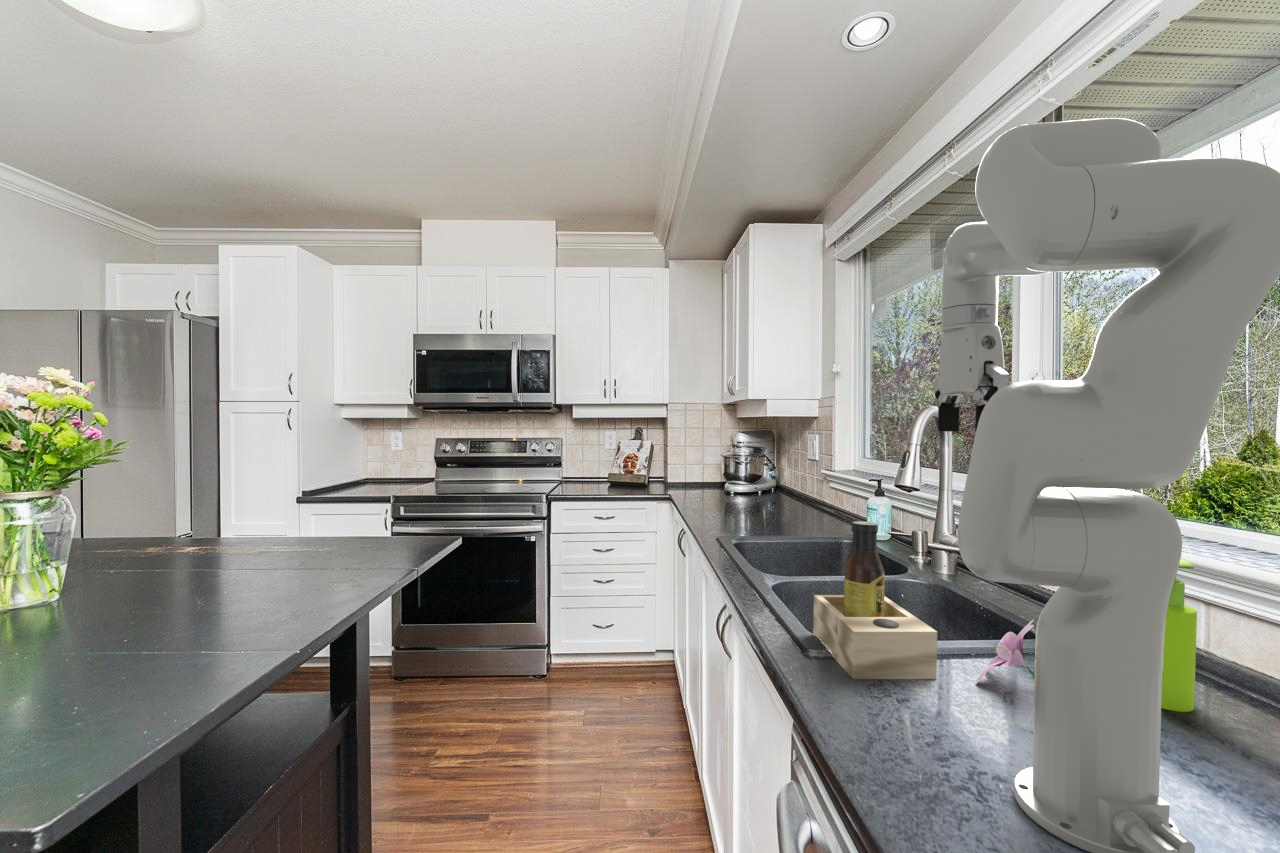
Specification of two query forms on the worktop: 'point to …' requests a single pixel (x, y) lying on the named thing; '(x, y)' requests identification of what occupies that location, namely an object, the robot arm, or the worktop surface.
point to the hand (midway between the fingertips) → (966, 432)
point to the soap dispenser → (1179, 650)
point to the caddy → (876, 641)
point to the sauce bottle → (864, 574)
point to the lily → (1009, 651)
